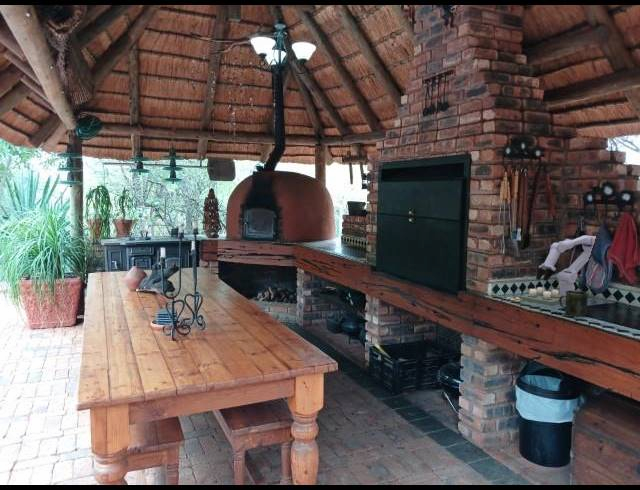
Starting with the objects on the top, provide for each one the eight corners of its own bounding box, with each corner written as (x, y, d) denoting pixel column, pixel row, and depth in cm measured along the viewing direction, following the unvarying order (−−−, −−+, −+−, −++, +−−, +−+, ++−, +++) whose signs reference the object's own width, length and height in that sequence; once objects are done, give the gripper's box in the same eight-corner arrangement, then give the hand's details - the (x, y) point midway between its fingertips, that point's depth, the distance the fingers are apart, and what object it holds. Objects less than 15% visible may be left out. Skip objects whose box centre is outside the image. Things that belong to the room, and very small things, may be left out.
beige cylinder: (539, 293, 317) (539, 286, 316) (545, 294, 313) (545, 287, 313) (535, 294, 314) (536, 287, 314) (541, 295, 311) (542, 288, 310)
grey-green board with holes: (536, 295, 322) (536, 292, 321) (567, 300, 306) (568, 297, 306) (519, 299, 310) (519, 296, 309) (550, 305, 294) (551, 301, 294)
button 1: (553, 296, 309) (553, 289, 309) (559, 297, 306) (559, 290, 306) (549, 297, 307) (550, 289, 307) (556, 298, 304) (556, 290, 303)
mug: (591, 316, 267) (592, 294, 266) (562, 316, 268) (563, 294, 267) (582, 311, 278) (583, 290, 276) (554, 311, 279) (555, 290, 278)
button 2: (545, 298, 304) (545, 290, 304) (551, 299, 301) (552, 291, 300) (541, 298, 302) (542, 291, 301) (548, 300, 298) (548, 292, 298)
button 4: (531, 295, 311) (531, 288, 311) (537, 296, 308) (537, 289, 307) (527, 296, 309) (528, 289, 308) (534, 297, 306) (534, 290, 305)
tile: (512, 297, 317) (513, 296, 317) (526, 299, 310) (526, 298, 310) (504, 298, 311) (504, 297, 311) (518, 301, 304) (518, 300, 304)
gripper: (539, 256, 317) (529, 275, 316) (552, 257, 302) (542, 277, 302) (548, 262, 318) (538, 281, 317) (562, 263, 303) (552, 283, 302)
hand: (541, 279), depth 309 cm, fingers open, 7 cm apart
